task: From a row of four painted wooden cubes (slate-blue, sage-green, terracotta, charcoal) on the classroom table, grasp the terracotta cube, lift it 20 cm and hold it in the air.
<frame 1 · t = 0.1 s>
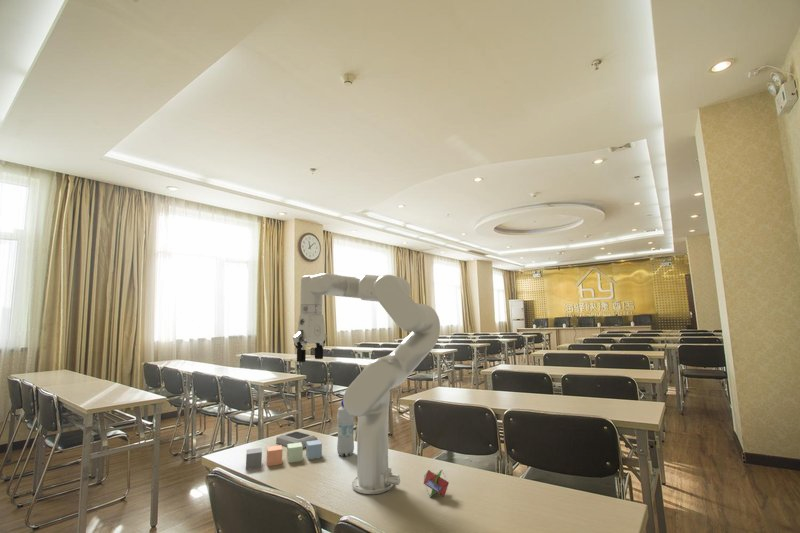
hand: (310, 360, 128), 37 cm above the table, tool pointing down, fingers open, 9 cm apart
geometric puzzle: (436, 495, 106), on the table
sage-green block: (294, 459, 136), on the table
terracotta block: (274, 462, 133), on the table
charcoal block: (253, 465, 130), on the table
bottle: (345, 454, 140), on the table
grey piece: (296, 444, 153), on the table
slate-blue block: (313, 456, 138), on the table
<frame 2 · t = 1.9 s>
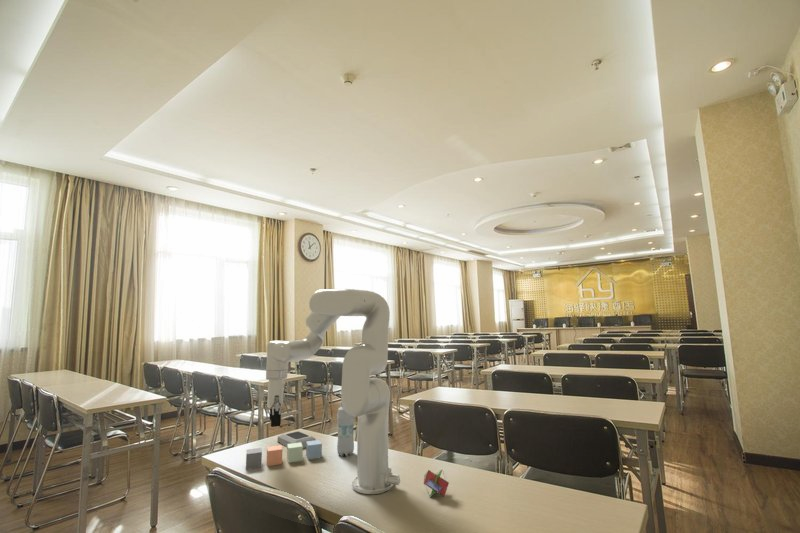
hand: (274, 422, 135), 14 cm above the table, tool pointing down, fingers open, 9 cm apart
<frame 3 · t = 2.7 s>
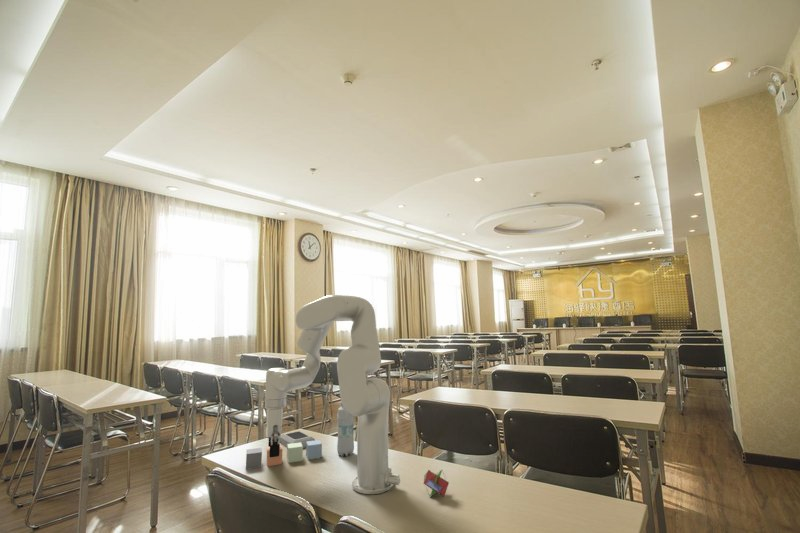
hand: (273, 451, 134), 3 cm above the table, tool pointing down, fingers open, 9 cm apart
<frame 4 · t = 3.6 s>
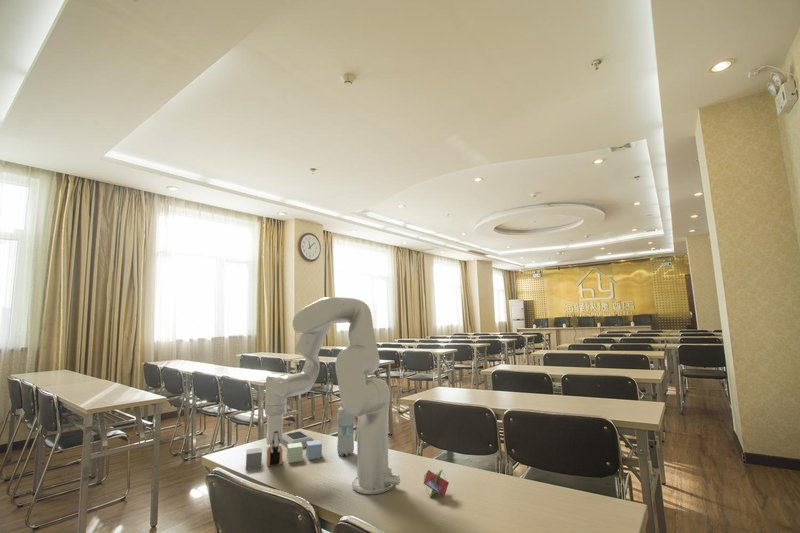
hand: (274, 460, 133), 0 cm above the table, tool pointing down, fingers closed on terracotta block, 5 cm apart
terracotta block: (274, 462, 133), on the table, touching gripper
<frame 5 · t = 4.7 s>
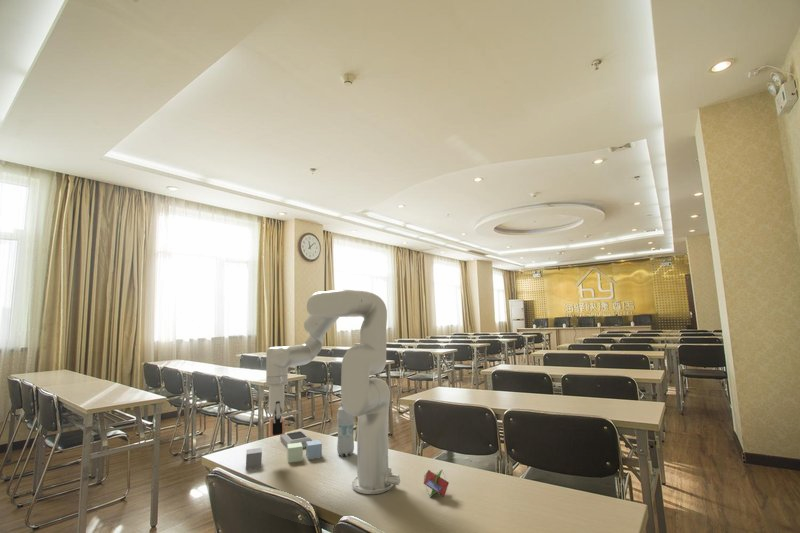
hand: (276, 432, 134), 10 cm above the table, tool pointing down, fingers closed on terracotta block, 4 cm apart
terracotta block: (276, 433, 134), point 10 cm above the table, touching gripper
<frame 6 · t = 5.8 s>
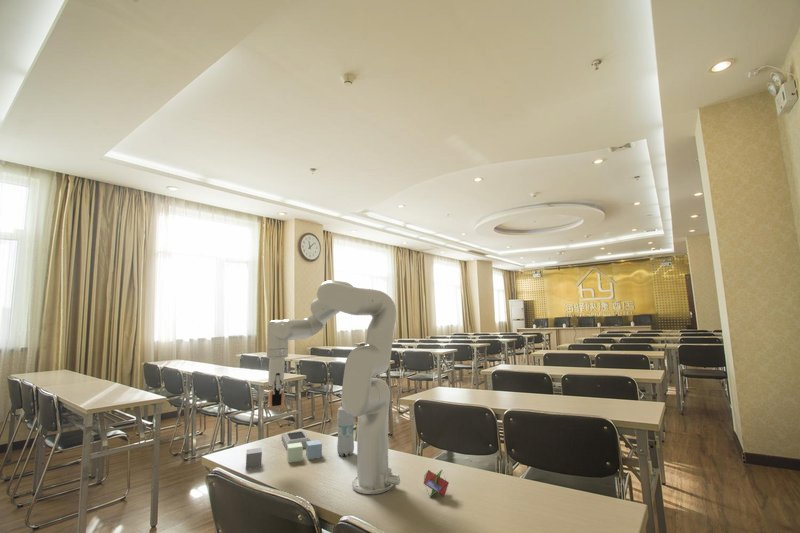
hand: (276, 403, 136), 20 cm above the table, tool pointing down, fingers closed on terracotta block, 4 cm apart
terracotta block: (275, 404, 136), point 20 cm above the table, touching gripper
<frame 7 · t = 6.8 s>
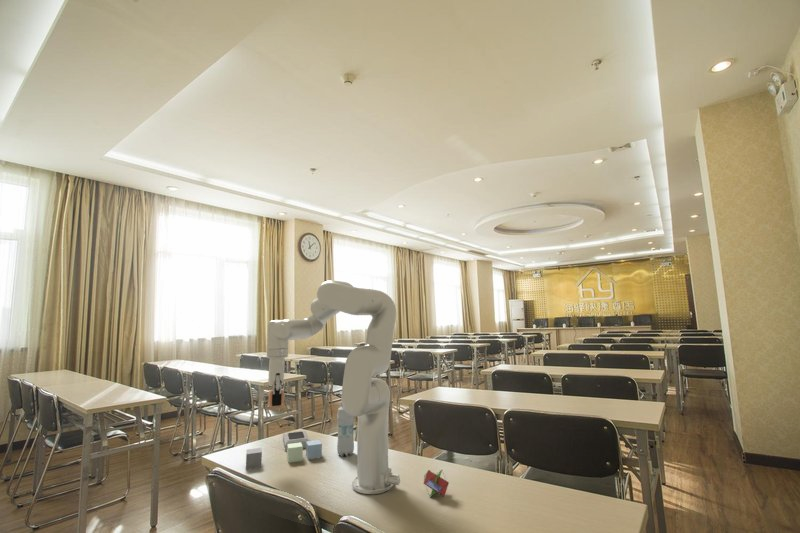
hand: (276, 403, 136), 20 cm above the table, tool pointing down, fingers closed on terracotta block, 4 cm apart
terracotta block: (275, 404, 136), point 20 cm above the table, touching gripper
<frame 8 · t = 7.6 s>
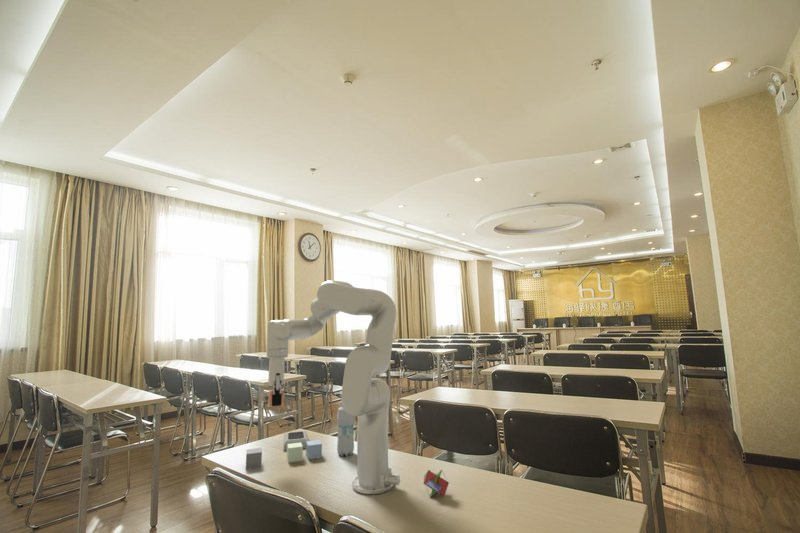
hand: (276, 403, 136), 20 cm above the table, tool pointing down, fingers closed on terracotta block, 4 cm apart
terracotta block: (275, 404, 136), point 20 cm above the table, touching gripper
at the end: the gripper is holding terracotta block; terracotta block point 19.8 cm above the table; sage-green block moved 0.1 cm from its start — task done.
